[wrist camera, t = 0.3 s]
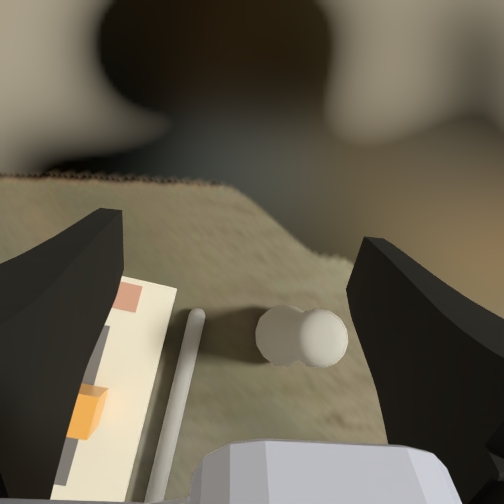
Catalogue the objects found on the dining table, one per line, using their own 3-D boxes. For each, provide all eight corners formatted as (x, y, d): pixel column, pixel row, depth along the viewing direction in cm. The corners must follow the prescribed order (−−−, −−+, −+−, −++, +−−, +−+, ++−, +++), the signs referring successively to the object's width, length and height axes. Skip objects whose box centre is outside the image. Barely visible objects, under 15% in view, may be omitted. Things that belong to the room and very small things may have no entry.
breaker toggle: (98, 425, 34) (87, 440, 30) (36, 414, 34) (14, 428, 29) (108, 388, 35) (99, 397, 30) (47, 376, 34) (28, 384, 30)
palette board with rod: (156, 527, 37) (155, 536, 35) (-68, 495, 34) (-79, 503, 33) (206, 310, 41) (207, 309, 39) (10, 267, 38) (4, 264, 37)
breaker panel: (115, 537, 36) (110, 556, 33) (-30, 516, 34) (-50, 534, 31) (176, 291, 41) (176, 288, 38) (51, 262, 39) (41, 257, 36)
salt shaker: (240, 323, 41) (269, 322, 29) (287, 295, 43) (335, 282, 30) (269, 375, 41) (311, 396, 28) (316, 345, 42) (376, 353, 30)
